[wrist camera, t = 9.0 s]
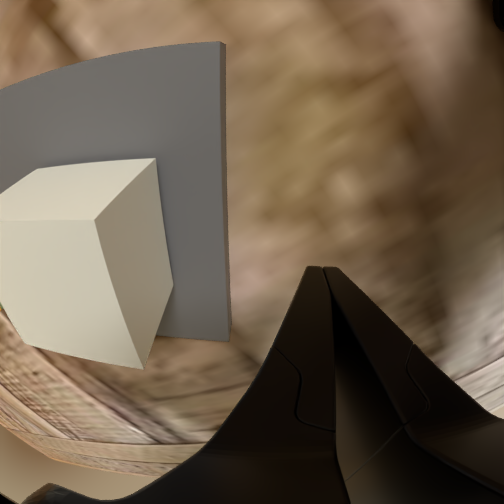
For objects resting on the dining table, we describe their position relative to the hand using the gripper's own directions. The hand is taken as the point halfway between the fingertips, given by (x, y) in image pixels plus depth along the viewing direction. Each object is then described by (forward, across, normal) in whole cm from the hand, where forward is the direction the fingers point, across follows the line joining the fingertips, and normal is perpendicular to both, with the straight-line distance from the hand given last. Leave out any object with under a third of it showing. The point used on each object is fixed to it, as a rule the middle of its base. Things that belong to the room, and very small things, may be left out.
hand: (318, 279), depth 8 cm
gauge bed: (+4, +13, 0) cm, 13 cm away
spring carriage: (+2, +7, 0) cm, 8 cm away
